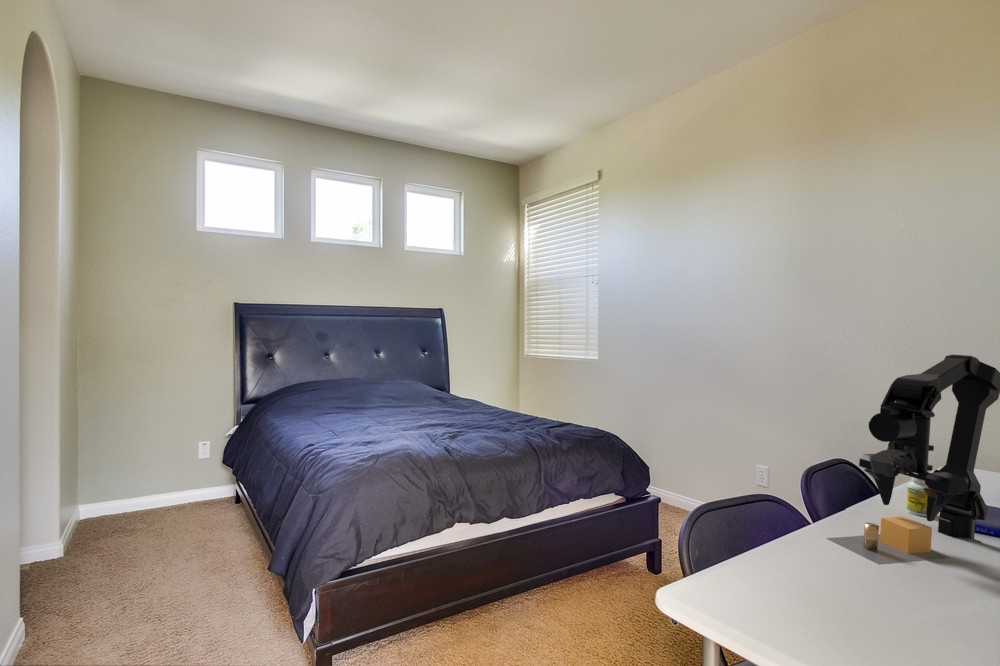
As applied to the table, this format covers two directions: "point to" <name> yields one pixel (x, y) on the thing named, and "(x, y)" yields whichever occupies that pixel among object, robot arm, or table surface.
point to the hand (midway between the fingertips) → (907, 512)
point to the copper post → (871, 537)
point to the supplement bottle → (917, 497)
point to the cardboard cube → (906, 534)
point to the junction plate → (883, 551)
